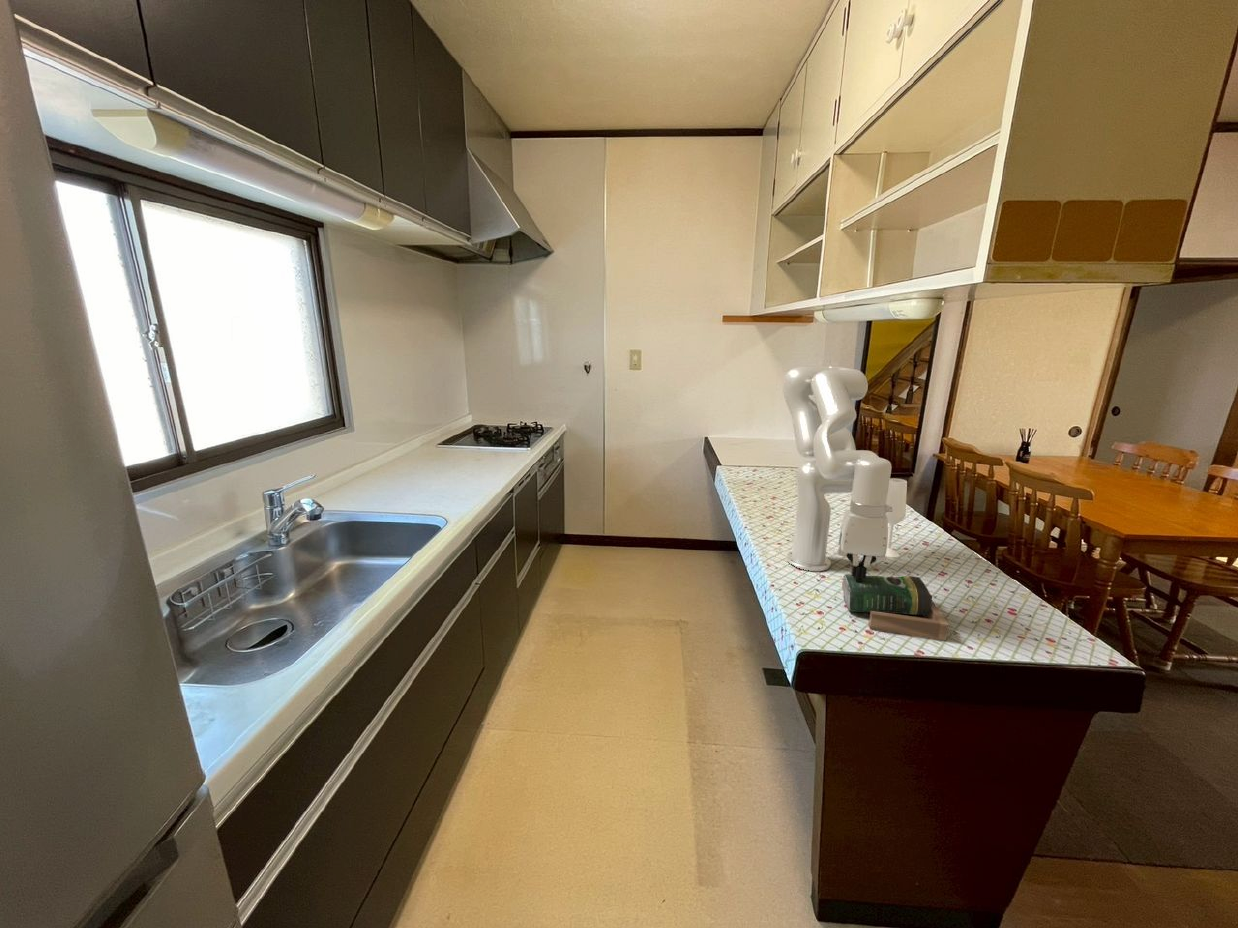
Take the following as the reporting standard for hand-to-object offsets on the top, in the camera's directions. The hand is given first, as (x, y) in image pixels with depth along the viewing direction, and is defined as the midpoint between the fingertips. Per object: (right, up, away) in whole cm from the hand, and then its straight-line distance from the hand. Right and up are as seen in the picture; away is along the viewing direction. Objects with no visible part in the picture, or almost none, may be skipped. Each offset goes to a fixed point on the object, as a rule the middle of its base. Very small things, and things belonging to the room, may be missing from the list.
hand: (857, 579), depth 121 cm
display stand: (+9, -8, 0) cm, 12 cm away
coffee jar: (-2, -4, +2) cm, 5 cm away
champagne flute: (+26, 0, +35) cm, 44 cm away
